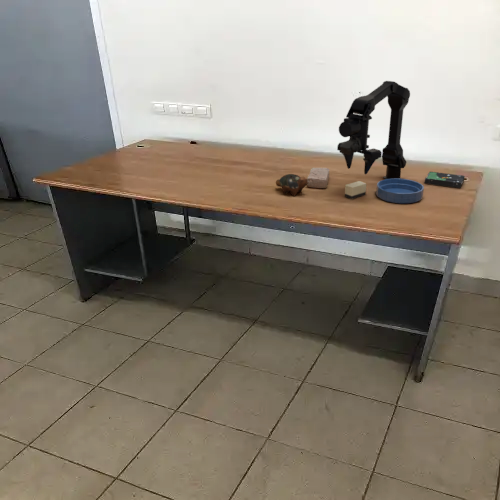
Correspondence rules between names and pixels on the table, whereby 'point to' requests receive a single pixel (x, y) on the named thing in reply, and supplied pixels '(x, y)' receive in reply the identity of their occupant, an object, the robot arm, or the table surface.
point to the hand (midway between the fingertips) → (357, 171)
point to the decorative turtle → (292, 183)
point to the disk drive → (444, 179)
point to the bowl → (399, 190)
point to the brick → (318, 177)
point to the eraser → (355, 189)
